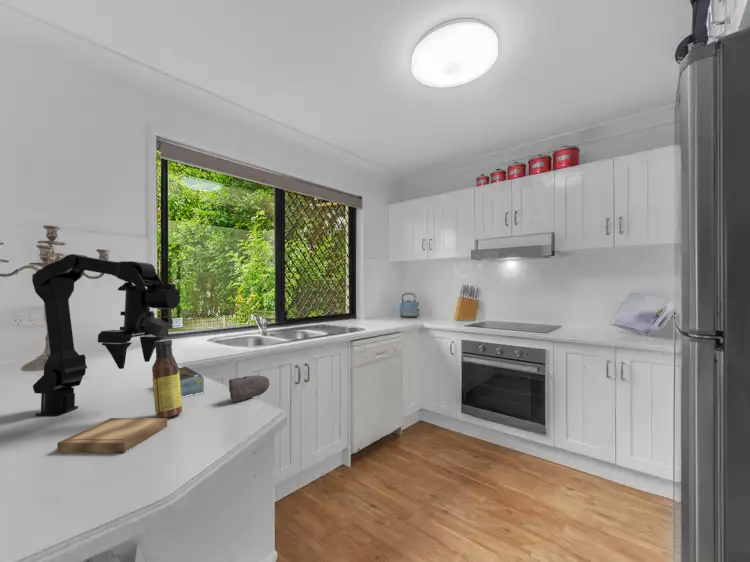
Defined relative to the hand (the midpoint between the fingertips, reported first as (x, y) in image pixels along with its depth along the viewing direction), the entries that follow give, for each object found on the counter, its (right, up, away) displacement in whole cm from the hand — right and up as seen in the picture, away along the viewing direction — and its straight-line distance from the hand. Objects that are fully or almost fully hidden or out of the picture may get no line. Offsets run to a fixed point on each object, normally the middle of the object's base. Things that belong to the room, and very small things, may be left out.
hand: (134, 365), depth 94 cm
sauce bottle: (+11, -13, -2) cm, 17 cm away
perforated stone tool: (+26, -14, +14) cm, 33 cm away
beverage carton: (0, -14, +23) cm, 27 cm away
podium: (+8, -12, -17) cm, 22 cm away
